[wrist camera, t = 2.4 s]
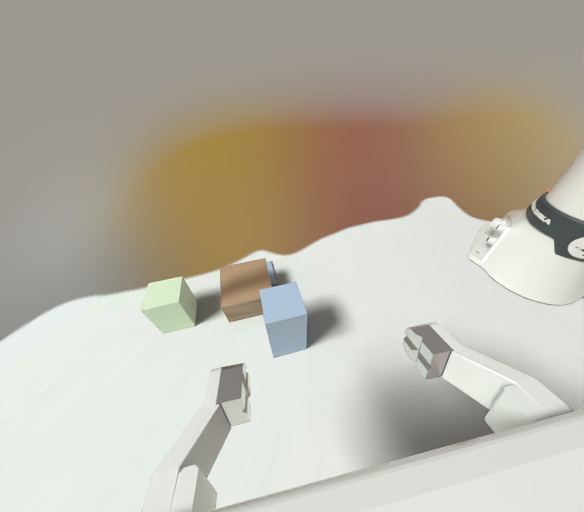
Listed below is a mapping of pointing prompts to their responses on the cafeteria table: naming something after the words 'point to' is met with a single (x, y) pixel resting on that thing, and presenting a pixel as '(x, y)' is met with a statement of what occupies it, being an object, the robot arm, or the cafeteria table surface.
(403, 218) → the cafeteria table surface
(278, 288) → the pillar
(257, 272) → the walnut block
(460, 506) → the robot arm
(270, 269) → the swatch
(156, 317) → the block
